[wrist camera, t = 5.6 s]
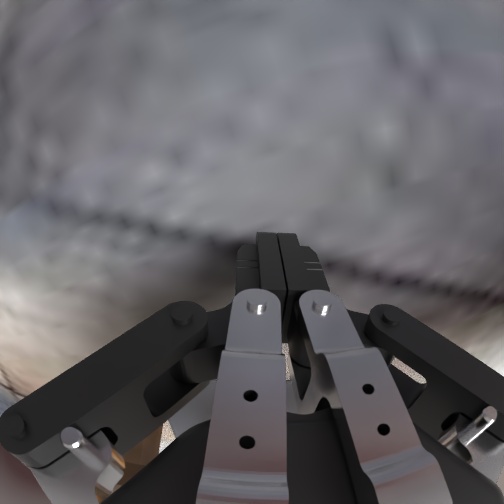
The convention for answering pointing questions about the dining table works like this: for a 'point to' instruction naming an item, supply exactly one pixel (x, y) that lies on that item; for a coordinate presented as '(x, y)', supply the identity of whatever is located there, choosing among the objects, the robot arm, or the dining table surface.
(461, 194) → the dining table surface
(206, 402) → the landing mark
